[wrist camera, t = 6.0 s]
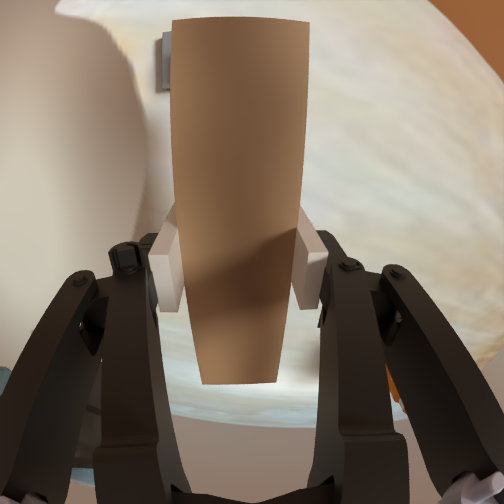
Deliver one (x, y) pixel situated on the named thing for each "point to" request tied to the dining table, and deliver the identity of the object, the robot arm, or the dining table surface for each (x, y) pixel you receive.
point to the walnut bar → (238, 184)
